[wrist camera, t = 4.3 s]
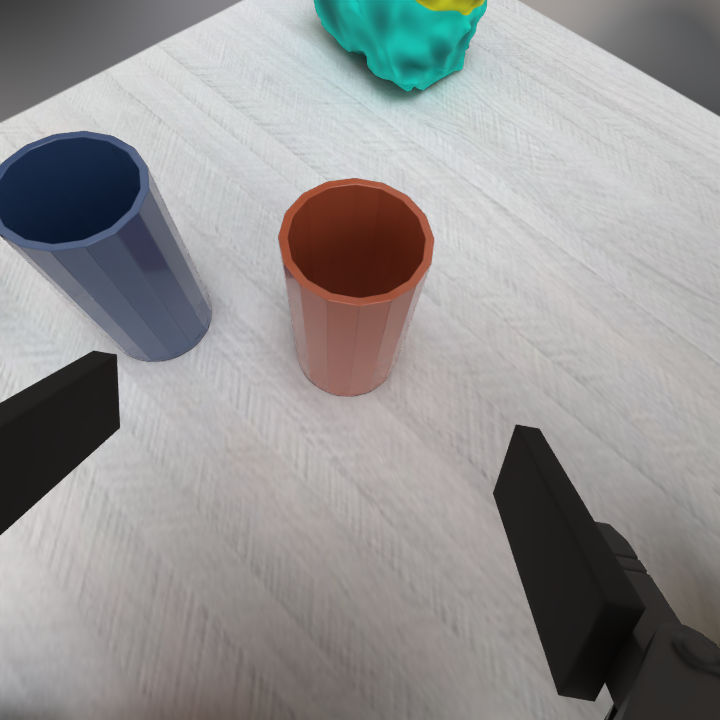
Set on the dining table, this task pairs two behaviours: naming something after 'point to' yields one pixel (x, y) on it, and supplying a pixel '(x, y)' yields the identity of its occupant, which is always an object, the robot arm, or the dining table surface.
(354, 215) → the terracotta cup
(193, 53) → the dining table surface
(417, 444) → the dining table surface
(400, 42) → the organ model
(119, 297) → the blue cup
